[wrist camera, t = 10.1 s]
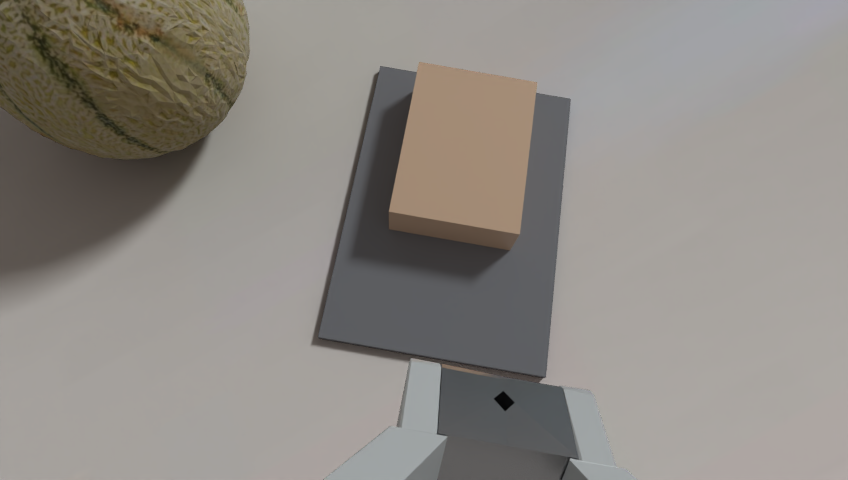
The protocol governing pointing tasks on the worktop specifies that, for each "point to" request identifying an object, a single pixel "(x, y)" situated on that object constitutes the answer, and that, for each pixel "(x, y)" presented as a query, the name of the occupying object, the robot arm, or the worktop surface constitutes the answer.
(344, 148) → the worktop surface
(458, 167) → the block
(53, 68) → the cantaloupe
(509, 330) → the mat
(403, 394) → the robot arm
